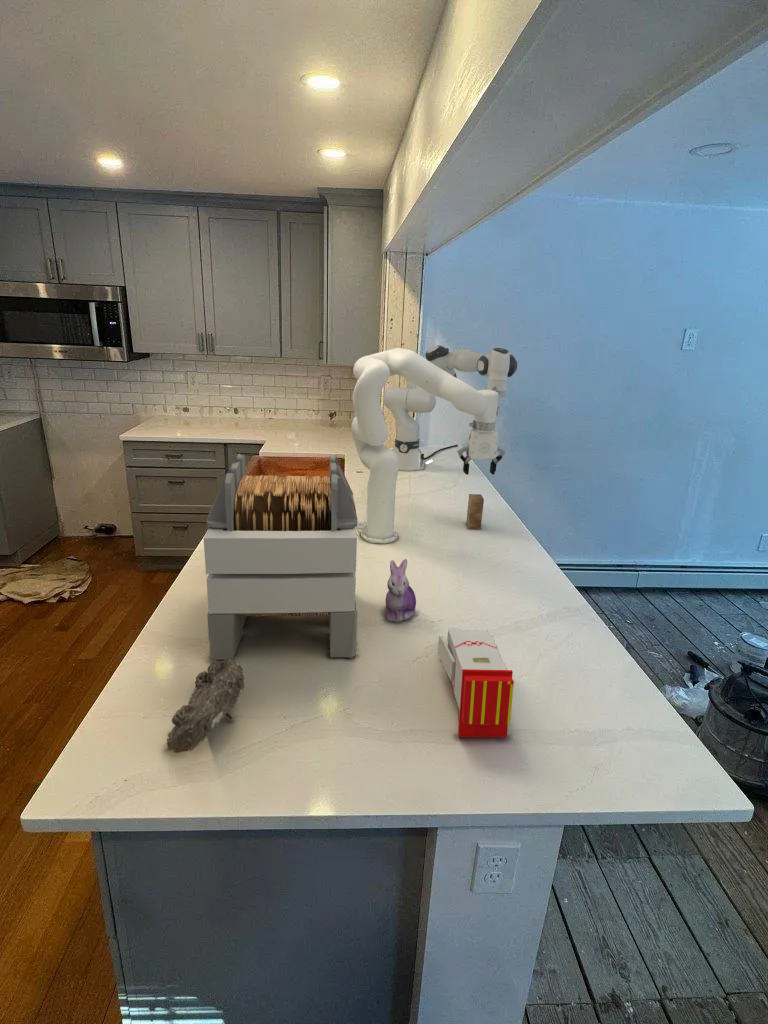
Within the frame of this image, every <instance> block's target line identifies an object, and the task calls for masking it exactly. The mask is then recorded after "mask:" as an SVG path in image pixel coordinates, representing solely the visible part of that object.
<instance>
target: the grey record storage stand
mask: <svg viewBox="0 0 768 1024" xmlns="http://www.w3.org/2000/svg"><path fill="white" fill-rule="evenodd" d="M246 468H247V467H246V456H245V454H241V453H237V454H236V456H235V459H234V461H232V463H231V466H230V468H229V470H228V472H227V473H226V474H225V476H224V479H223V481H222V484H221V485H220V488H219V490H218V492H217V495H216V496H215V499H214V501H213V504H212V506H211V508H210V509H209V512H208V515H207V518H206V528H207V530H206V532H205V534H204V536H203V549H204V564H205V565H204V567H205V574H206V575H207V577H206V591H207V592H206V593H207V594H206V595H207V607H208V610H207V615H206V617H207V634H208V641H209V651H210V656H209V659H210V661H212V660H227V659H228V660H231V659H232V660H234V658H235V654H236V651H237V649H238V647H239V645H240V642H241V639H242V637H243V627H244V626H245V625H246V624H245V623H246V620H247V617H267V616H268V617H271V616H272V617H273V616H275V617H276V616H277V617H278V616H279V617H280V616H281V617H286V616H295V617H296V616H300V617H301V616H318V615H319V616H321V615H322V616H323V615H326V616H328V625H329V657H330V658H350V659H352V658H354V657H355V656H356V655H357V630H358V628H357V626H358V625H357V624H358V610H357V602H356V587H357V586H356V585H357V583H356V582H357V577H356V573H357V551H358V550H357V549H358V548H357V547H358V536H357V529H356V526H357V522H359V521H358V515H357V509H356V503H355V498H354V493H353V490H352V487H351V486H350V484H349V481H348V479H347V477H346V475H345V473H344V471H343V469H342V467H341V464H340V462H339V459H338V458H337V455H336V454H329V475H325V476H322V477H321V476H319V475H313V476H312V477H309V476H307V475H284V476H281V475H280V476H279V475H275V476H274V475H251V474H250V475H247V469H246Z"/></svg>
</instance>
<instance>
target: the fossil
mask: <svg viewBox="0 0 768 1024" xmlns="http://www.w3.org/2000/svg"><path fill="white" fill-rule="evenodd" d="M243 670H244V669H243V667H242V665H240V664H237V662H236V661H235V660H234V659H233V660H232V659H223V661H222V660H218V659H215V660H210V663H209V665H208V666H207V671H201V672H199V673H198V674H197V675H196V676H195V680H194V684H195V685H194V687H195V689H194V690H193V693H192V694H191V697H190V698H189V700H188V704H184V705H182V706H181V707H180V709H177V710H176V711H175V713H174V715H173V716H172V718H171V723H172V724H173V727H172V730H171V731H170V732H168V734H167V738H166V741H167V742H166V745H167V749H168V750H169V751H173V752H174V753H176V754H178V753H182V752H188V751H189V752H192V751H193V750H195V748H196V747H197V746H199V744H200V743H201V742H203V741H204V740H205V739H206V738H207V737H208V736H209V735H210V734H211V733H212V732H214V730H215V729H217V727H218V726H219V724H220V722H221V721H222V720H223V719H224V718H225V716H226V717H227V719H229V720H233V717H232V715H230V714H229V710H230V709H231V708H234V706H235V704H236V703H237V702H238V699H239V697H240V695H241V693H242V691H243V690H245V689H244V688H245V675H244V671H243Z"/></svg>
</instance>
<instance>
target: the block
mask: <svg viewBox="0 0 768 1024" xmlns="http://www.w3.org/2000/svg"><path fill="white" fill-rule="evenodd" d="M467 501H468V502H467V513H466V527H467V529H468V530H482V523H483V515H484V503H485V498H484V497H483V495H482V494H480V493H479V494H478V493H477V494H476V493H468V500H467Z"/></svg>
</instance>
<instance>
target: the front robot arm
mask: <svg viewBox="0 0 768 1024" xmlns="http://www.w3.org/2000/svg"><path fill="white" fill-rule="evenodd" d="M352 373H353V376H354V377H355V379H356V380H357V381H356V383H355V386H354V388H353V391H352V405H353V406H352V407H353V411H354V414H355V416H354V417H353V419H352V422H351V426H350V427H351V429H350V431H351V433H352V438H353V442H354V444H355V448H356V452H357V454H358V457H359V459H360V460H359V461H360V462H361V463H362V465H363V466H364V467H366V468H367V469H368V470H369V477H368V481H367V488H366V519H365V520H366V521H364V522H362V521H357V526H356V527H355V529H356V530H361V534H360V535H361V538H362V539H363V540H364V541H366V542H368V543H373V544H389V543H393V542H395V541H397V540H398V537H399V534H398V532H397V531H396V530H395V528H394V527H395V510H396V509H395V508H396V507H395V506H396V491H397V490H396V489H397V479H398V474H399V471H400V470H399V460H398V457H397V455H396V454H395V453H394V452H393V451H392V449H391V448H389V447H388V446H385V445H384V444H385V443H386V441H387V439H388V436H389V432H388V431H389V429H388V427H387V422H386V420H385V417H384V413H383V410H382V405H381V392H382V391H383V388H384V387H385V386H386V384H387V383H388V381H389V379H390V377H393V376H395V375H398V376H400V377H402V378H404V379H405V380H408V381H411V382H412V383H414V384H416V385H417V386H419V387H420V388H422V389H424V390H425V391H427V392H428V393H431V394H432V395H435V397H438V398H440V399H443V400H445V401H447V402H450V403H451V404H452V406H453V407H454V408H455V409H456V410H457V411H460V412H462V413H466V414H468V415H471V416H473V420H472V422H469V426H468V427H469V428H471V429H470V431H469V435H468V440H467V444H466V445H465V446H463V447H462V448H460V449H458V450H457V451H456V452H457V454H458V457H459V459H460V460H461V461H462V462H463V464H462V465H463V467H462V472H463V473H464V474H465V475H466V476H467V475H469V473H470V462H471V461H472V460H491V462H490V465H489V473H490V475H495V472H496V471H497V464H499V462H500V461H501V460H502V459H503V457H504V456H505V454H506V450H504V449H502V448H500V447H499V446H498V431H497V430H496V421H497V416H496V413H497V404H498V393H497V392H496V391H493V390H487V389H479V390H477V389H476V388H474V387H473V386H472V385H470V384H468V383H466V382H465V381H462V380H461V379H459V378H458V377H457V378H456V377H454V376H452V375H451V374H449V373H447V372H446V371H444V370H442V369H441V368H439V367H437V366H436V365H434V364H433V363H431V362H430V361H428V360H427V359H426V357H424V356H422V355H421V354H419V353H417V352H416V351H413V350H412V349H408V348H403V347H395V348H390V349H388V350H384V351H380V352H375V353H372V354H367V355H363V356H362V357H360V358H359V359H357V360H356V361H355V363H354V365H353V372H352ZM465 452H466V453H465ZM463 453H465V454H466V455H465V456H464V454H463ZM498 453H499V454H498Z"/></svg>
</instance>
